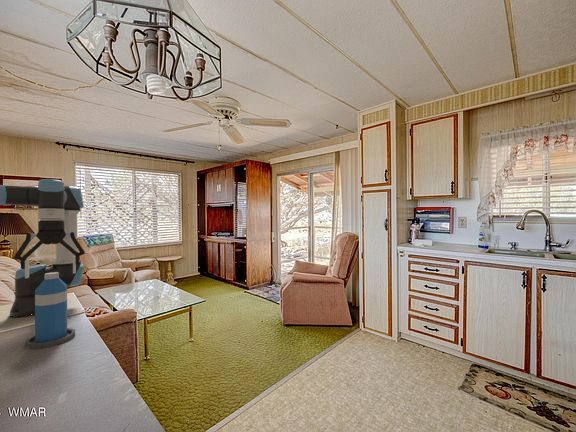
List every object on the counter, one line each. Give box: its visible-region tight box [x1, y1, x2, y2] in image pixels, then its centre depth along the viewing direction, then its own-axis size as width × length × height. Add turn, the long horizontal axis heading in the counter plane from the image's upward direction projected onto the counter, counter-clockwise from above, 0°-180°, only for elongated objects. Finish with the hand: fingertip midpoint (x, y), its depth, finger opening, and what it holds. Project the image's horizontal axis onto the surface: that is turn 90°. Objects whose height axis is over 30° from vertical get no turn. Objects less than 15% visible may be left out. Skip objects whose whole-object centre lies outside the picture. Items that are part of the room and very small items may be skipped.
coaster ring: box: [24, 327, 76, 350], centre depth 101 cm, size 14×14×2 cm
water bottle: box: [34, 272, 68, 343], centre depth 101 cm, size 9×9×25 cm
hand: (51, 275), depth 102 cm, fingers open, 13 cm apart
